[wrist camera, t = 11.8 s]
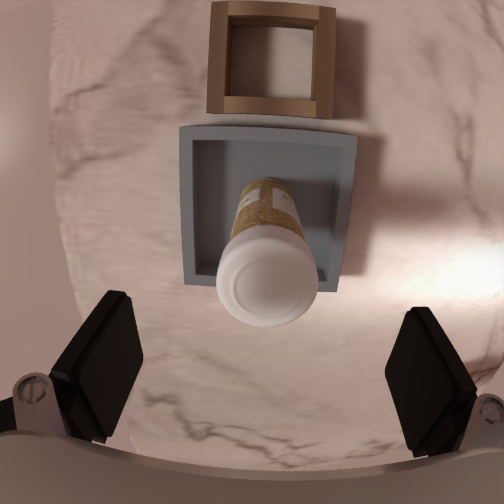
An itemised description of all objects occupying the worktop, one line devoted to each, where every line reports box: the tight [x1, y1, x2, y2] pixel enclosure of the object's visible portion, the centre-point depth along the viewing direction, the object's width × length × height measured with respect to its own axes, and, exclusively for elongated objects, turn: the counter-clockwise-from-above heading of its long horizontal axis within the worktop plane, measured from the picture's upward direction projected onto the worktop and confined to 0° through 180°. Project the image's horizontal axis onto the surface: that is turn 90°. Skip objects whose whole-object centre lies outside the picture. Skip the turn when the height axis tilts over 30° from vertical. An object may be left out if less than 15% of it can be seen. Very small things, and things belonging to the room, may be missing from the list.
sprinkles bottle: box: [216, 178, 318, 327], centre depth 20 cm, size 5×5×14 cm
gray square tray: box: [179, 125, 358, 292], centre depth 25 cm, size 13×13×3 cm
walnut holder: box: [206, 1, 336, 120], centre depth 20 cm, size 9×9×3 cm
